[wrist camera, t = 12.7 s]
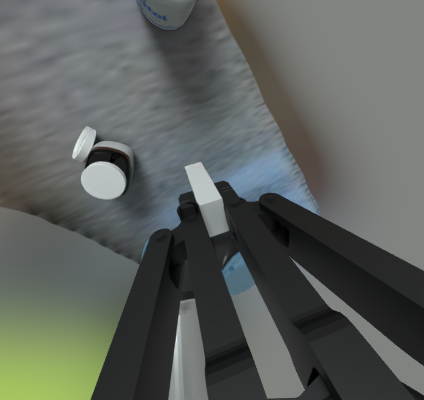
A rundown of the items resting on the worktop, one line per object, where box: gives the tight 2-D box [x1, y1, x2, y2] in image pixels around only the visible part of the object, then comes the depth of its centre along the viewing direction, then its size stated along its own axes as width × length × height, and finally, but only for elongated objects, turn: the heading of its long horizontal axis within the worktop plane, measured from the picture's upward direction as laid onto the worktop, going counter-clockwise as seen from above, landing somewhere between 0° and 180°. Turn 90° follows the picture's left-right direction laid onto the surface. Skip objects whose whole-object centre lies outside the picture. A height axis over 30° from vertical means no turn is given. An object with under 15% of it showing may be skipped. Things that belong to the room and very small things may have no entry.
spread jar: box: [73, 126, 134, 199], centre depth 35 cm, size 12×11×12 cm
